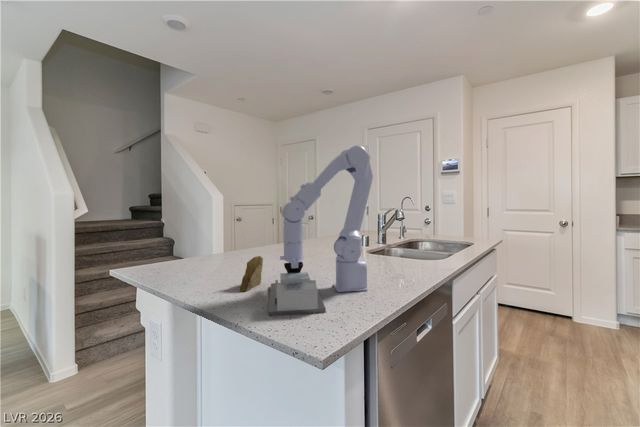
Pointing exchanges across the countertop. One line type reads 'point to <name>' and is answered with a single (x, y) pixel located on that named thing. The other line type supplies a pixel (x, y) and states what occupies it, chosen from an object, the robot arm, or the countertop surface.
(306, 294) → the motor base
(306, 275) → the pale blue-grey box
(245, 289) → the rock
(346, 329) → the countertop surface
